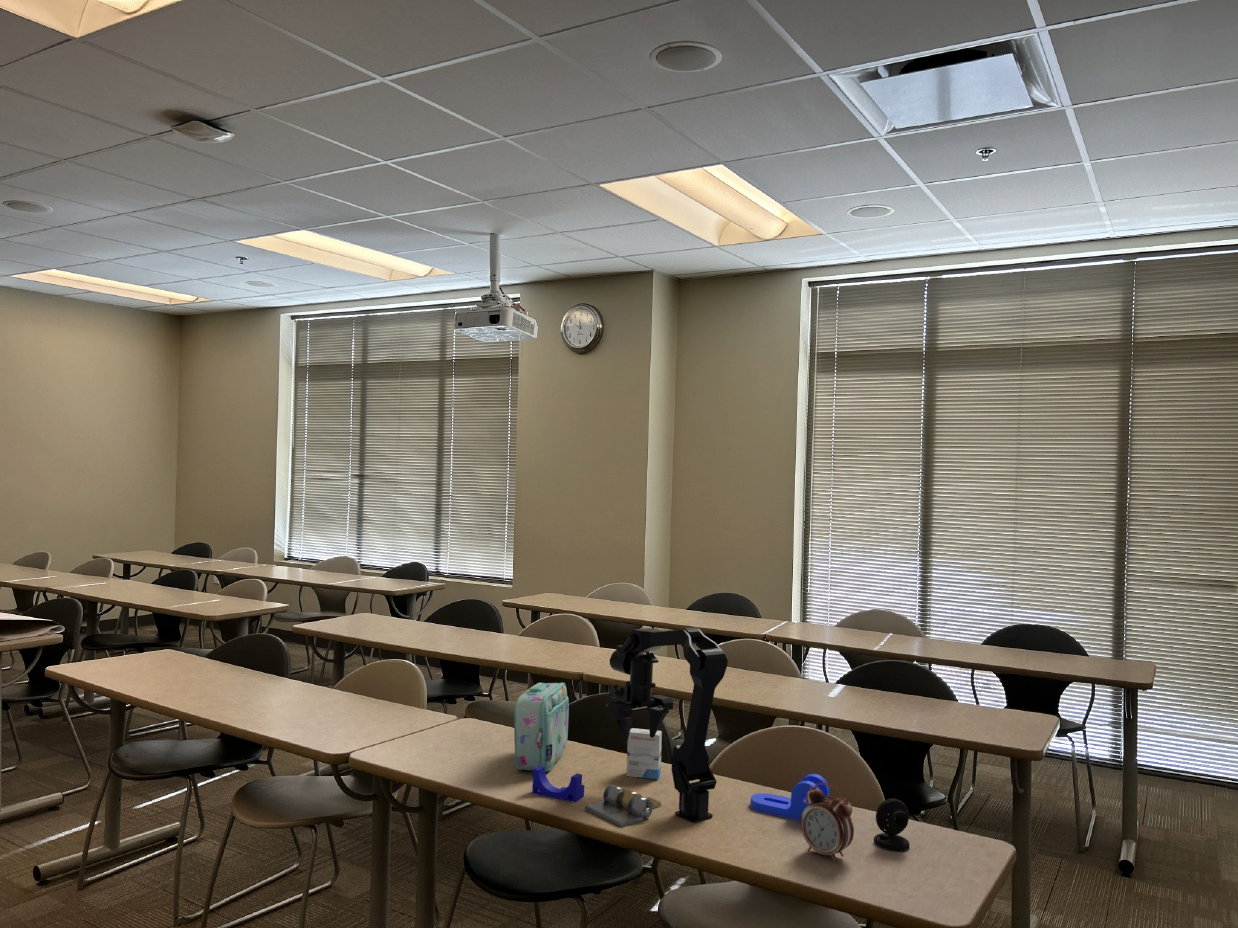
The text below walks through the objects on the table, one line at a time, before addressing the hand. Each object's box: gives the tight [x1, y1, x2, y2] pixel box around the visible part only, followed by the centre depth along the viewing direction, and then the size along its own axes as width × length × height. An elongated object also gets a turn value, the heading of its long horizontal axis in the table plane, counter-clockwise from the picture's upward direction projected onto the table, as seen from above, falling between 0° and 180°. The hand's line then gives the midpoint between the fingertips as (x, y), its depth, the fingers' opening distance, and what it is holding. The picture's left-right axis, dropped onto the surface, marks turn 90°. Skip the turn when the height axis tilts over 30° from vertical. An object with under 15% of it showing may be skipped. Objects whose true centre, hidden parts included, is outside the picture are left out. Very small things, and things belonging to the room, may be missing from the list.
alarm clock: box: [800, 782, 855, 863], centre depth 184 cm, size 11×5×15 cm, turn 45°
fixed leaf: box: [584, 784, 654, 828], centre depth 203 cm, size 14×10×4 cm
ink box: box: [625, 727, 663, 781], centre depth 231 cm, size 9×5×12 cm, turn 76°
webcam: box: [873, 798, 911, 852], centre depth 192 cm, size 8×8×10 cm
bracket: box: [750, 773, 831, 822], centre depth 210 cm, size 18×8×9 cm, turn 62°
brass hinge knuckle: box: [618, 788, 662, 810], centre depth 207 cm, size 4×10×4 cm, turn 131°
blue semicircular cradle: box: [531, 766, 585, 803], centre depth 214 cm, size 12×4×6 cm, turn 65°
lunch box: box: [513, 682, 570, 773], centre depth 239 cm, size 27×10×21 cm, turn 171°
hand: (638, 739), depth 222 cm, fingers open, 9 cm apart
